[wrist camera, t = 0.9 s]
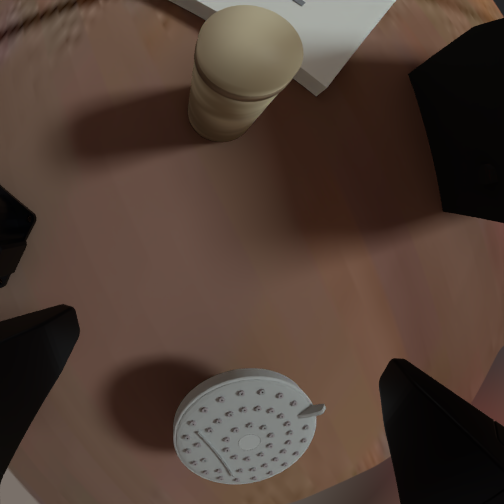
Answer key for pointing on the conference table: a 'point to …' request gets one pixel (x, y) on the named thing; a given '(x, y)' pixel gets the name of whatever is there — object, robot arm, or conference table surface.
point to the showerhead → (244, 426)
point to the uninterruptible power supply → (466, 120)
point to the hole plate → (314, 30)
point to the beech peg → (240, 69)
